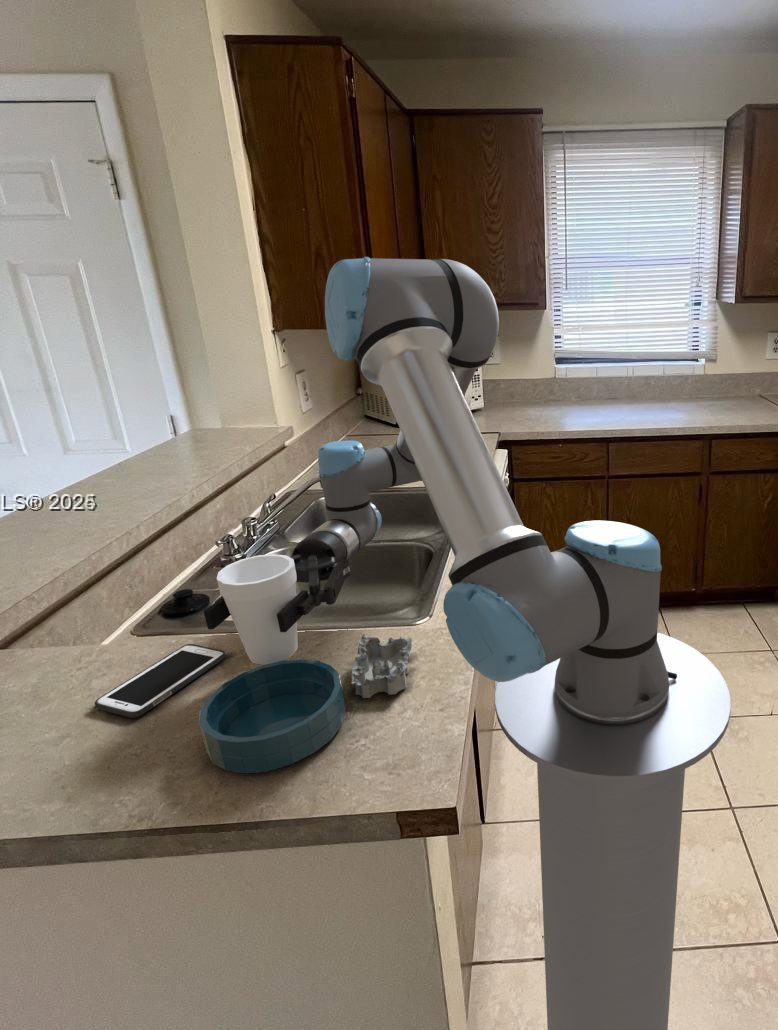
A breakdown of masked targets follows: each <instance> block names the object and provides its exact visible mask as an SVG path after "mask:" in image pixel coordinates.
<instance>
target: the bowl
mask: <svg viewBox="0 0 778 1030" xmlns="http://www.w3.org/2000/svg"><path fill="white" fill-rule="evenodd" d="M340 675H341V674H340V673H339V672H338V671H337V670H336V669H335V668H334V667H333V665H330V664H328V663H325V662H323V661H320V660H317V659H316V660H315V659H308V658H307V659H306V658H295V659H285V660H282V661H278V662H274V663H270V664H264V665H262V664H260V665H259V666H256V667H254V668H252V669H249V670H246V671H244V672H242V673H240V674H237V675H236V676H234V677H232V678H231V679H229V680H228V681H226V682H224V683H223V684H222V685H220V686H219V687H218V688H217V689H216V690H215V691H214V692H212V693H211V694H210V695H209V696H208V698H207V699H206V700H205V702H204V704H203V705H202V707H201V708H200V710H199V716H198V717H199V719H198V726H199V728H200V731H201V736H202V740H203V743H204V747H205V751H206V753H207V755H208V757H209V759H210V761H211V762H212V764H214V765H215V766H217V767H219V768H220V769H223V770H224V771H227V772H233V773H240V774H253V773H254V774H255V773H263V772H270V771H273V770H277V769H280V768H281V769H282V768H284V767H287V766H290V765H292V764H294V763H297V762H299V761H301V760H304V759H305V758H307V757H308V756H310V755H313V754H315V753H316V752H317V751H319V750H320V749H321V748H323V747H324V746H325V745H327V743H328V742H330V741H331V740H332V739H333V738H334V737H335V735H336V734H337V733H338V732H339V730H340V729H341V727H342V726H343V724H344V721H345V718H346V714H347V710H346V709H347V708H346V703H345V698H344V693H343V685H342V680H341V676H340Z"/></svg>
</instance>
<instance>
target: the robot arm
mask: <svg viewBox="0 0 778 1030" xmlns="http://www.w3.org/2000/svg"><path fill="white" fill-rule="evenodd" d="M326 279H327V280H326V284H325V291H324V292H325V293H324V317H325V325H326V332H327V337H328V341H329V345H330V348H331V350H332V352H333V353H334V355H335V356H336V357H337V358H338V359H340V360H345V361H347V362H350V361H353V360H356V361H357V363H358V366H359V369H360V371H361V373H362V375H363V377H364V378H365V379H366V380H367V381H368V382H370V383H372V384H374V385H378V386H381V387H382V390H383V392H384V394H385V397H386V400H387V401H388V404H389V406H390V408H391V410H392V414H393V416H394V418H395V420H396V423H397V426H398V427H399V433H398V437H397V439H396V441H395V443H394V444H391V445H387V446H386V445H385V446H380V447H375V448H369V449H368V448H367V449H364V446H363V444H362V443H361V442H359V441H357V440H350V439H349V440H337V441H331V442H327V443H325V444H323V445H321V446H320V447H319V449H318V451H317V460H318V474H319V476H320V477H319V478H320V483H321V488H322V493H323V498H324V499H323V500H324V505H325V513H326V518H327V519H326V521H325V522H324V523H322V524H321V525H319V526H318V527H316V529H314V530H313V531H311V532H310V533H309V534H308V535H307V536H306V537H304V538H303V539H301V540H300V541H299V542H298V543H297V544H296V545H295V547H294V549H293V551H292V554H291V555H290V556H289V557H290V558H292V559H294V564H295V570H296V576H297V581H296V582H295V583H308V586H307V587H308V590H304V589H302V590H301V591H300V592H298V594H296V597H294V598H293V599H292V600H291V601H290V602H289V603H288V604H287V605H286V606H285V607H284V608H283V609H282V610H280V611H279V612H278V613H277V618H278V623H279V628H280V632H287V631H288V630H289V629H290V628H291V627H292V626H293V625H294V624H295V623H296V622H297V623H298V621H299V620H301V618H302V617H303V616H306V615H308V614H309V613H310V612H312V610H313V609H314V608H315V607H319V606H321V605H322V603H325V604H326V605H328V606H331V605H334V604H335V603H336V601H337V599H338V597H339V595H340V592H341V590H342V588H343V586H344V583H345V581H346V580H347V579H349V578H350V577H351V575H352V573H351V566H350V560H351V559H353V558H354V556H355V555H356V554H357V553H359V551H361V550H362V549H363V548H364V547H365V546H366V545H367V544H369V543H370V542H371V541H372V540H373V539H374V538H375V536H376V534H377V533H378V532H379V530H380V529H381V526H382V522H383V521H382V515H381V513H380V511H379V509H378V507H376V505H375V504H373V503H372V502H371V498H370V493H373V492H376V491H377V492H378V491H380V490H381V491H382V490H385V489H390V488H393V487H398V486H404V485H408V484H413V483H417V482H422V483H423V486H424V488H425V491H426V492H427V495H428V497H429V499H430V502H431V504H432V507H433V508H434V509H433V510H434V511H435V514H436V516H437V518H438V520H439V523H440V525H441V527H442V530H443V533H444V535H445V537H446V539H447V541H448V544H449V546H450V549H451V552H452V553H453V555H454V560H453V562H452V564H451V567H450V570H449V571H448V575H447V576H448V579H449V581H450V584H451V587H450V588H449V589H448V590H447V591H446V592H445V595H444V598H443V605H442V607H443V614H444V615H445V616H446V619H445V623H446V626H447V629H448V632H449V634H450V637H451V638H452V640H453V642H454V644H455V646H456V648H457V649H458V651H459V652H460V654H461V655H462V657H463V658H464V659H465V661H466V662H467V663H468V664H469V665H470V666H471V667H472V669H473V670H475V671H476V672H477V673H479V674H480V675H482V676H483V677H485V678H486V679H489V680H491V681H494V682H507V681H511V680H514V679H516V678H518V677H521V676H523V675H525V674H529V673H534V672H536V671H539V670H540V669H541V668H543V667H544V666H546V665H548V664H550V663H552V662H554V661H556V660H558V659H560V661H559V664H558V666H557V670H556V675H555V693H556V697H557V699H558V701H559V703H560V704H561V705H562V707H563V708H564V709H565V710H567V711H568V712H569V713H570V714H572V715H574V716H575V717H577V718H579V719H581V720H584V721H586V722H590V723H593V724H598V725H605V726H623V725H630V724H635V723H638V722H641V721H644V720H646V719H649V718H650V717H652V716H654V715H655V714H657V713H658V712H659V711H660V710H661V709H662V708H663V707H664V705H665V704H666V702H667V699H668V695H669V678H672V679H677V674H675V673H672V672H669V671H667V669H666V666H665V663H664V660H663V657H662V653H661V650H660V647H659V644H658V641H657V633H658V629H659V628H658V627H659V613H660V611H659V609H660V593H661V592H660V590H661V575H662V574H661V573H662V572H661V571H663V570H662V568H663V566H662V564H661V547H660V542H659V540H658V539H657V538H656V537H655V535H654V534H652V533H651V532H649V531H648V530H646V529H644V528H641V527H639V526H637V525H633V524H630V523H625V522H619V521H614V520H613V521H612V520H586V521H581V522H577V523H574V524H572V525H570V526H569V527H568V529H567V531H566V534H565V537H564V542H565V546H564V547H562V548H560V549H556V550H554V551H551V550H550V549H549V546H548V544H547V542H546V540H545V538H544V536H543V534H542V533H541V532H539V531H535V530H532V529H530V528H527V527H526V526H524V523H523V521H522V519H521V518H520V515H519V512H518V510H517V508H516V506H515V504H514V502H513V500H512V498H511V495H510V493H509V491H508V488H507V487H506V484H505V482H504V479H503V478H502V475H501V473H500V471H499V469H498V467H497V465H496V463H495V460H494V459H493V456H492V454H491V452H490V450H489V447H488V445H487V443H486V441H485V439H484V437H483V435H482V432H481V430H480V428H479V426H478V424H477V421H476V419H475V417H474V415H473V413H472V410H471V409H470V406H469V404H468V402H467V399H466V398H465V395H466V392H467V390H468V388H469V387H470V384H471V382H472V380H473V379H474V375H475V373H476V371H477V369H480V368H482V367H483V366H485V365H486V364H487V363H488V361H489V360H490V357H491V356H492V353H493V351H494V350H495V347H496V344H497V341H498V336H499V330H500V316H499V310H498V309H499V308H498V306H497V301H496V299H495V296H494V295H493V292H492V290H491V288H490V286H489V285H488V284H487V282H486V281H485V280H484V279H483V278H482V276H481V275H479V273H477V272H476V271H475V270H474V269H473V268H471V267H469V266H468V265H466V264H464V263H462V262H459V261H455V260H452V259H448V258H447V259H445V258H435V259H424V258H423V259H422V258H421V259H420V258H419V259H417V258H375V257H374V258H373V257H372V258H371V257H369V256H363V257H362V258H345V259H341V260H339V261H337V262H336V263H334V264H333V266H332V267H331V268H330V270H329V273H328V276H327V278H326ZM322 581H326V583H325V584H324V587H323V589H321V582H322ZM203 615H204V619H205V622H206V626H207V630H214V629H216V628H218V626H219V625H221V624H222V623H223V622H224V621H226V619H228V618H229V617H231V614H230V612H229V610H228V607H227V605H226V603H225V600H224V598H223V596H221V595H220V597H218V598H217V599H215V600H214V603H212V604H210V606H208V607H207V608H206V609H205V610H203ZM668 677H669V678H668Z"/></svg>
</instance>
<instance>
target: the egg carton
mask: <svg viewBox="0 0 778 1030" xmlns="http://www.w3.org/2000/svg"><path fill="white" fill-rule="evenodd" d="M412 643H413V639H412V637H403V636H400V637H399V638H393V637H389V638H388V641H385V642H381V640H380V638H379V637H377V636H366V634H362V635H361V637H360V640H359V642H358V645H357V646H358V647H357V652H356V655H355V657H354V662H353V666H352V668H351V685H354V687H355V695H358V696H360V697H362V698H363V699H371V698H372V696H374V695H375V694H377V693H382V692H384V693H386V694H387V695H396V694H397V693H398V692H400V691H402V690H406V689H407V686H408V683H407V676H406V675H408V674H409V671H410V670H409V661H410V660H411V650H412Z"/></svg>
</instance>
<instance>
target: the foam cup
mask: <svg viewBox="0 0 778 1030" xmlns="http://www.w3.org/2000/svg"><path fill="white" fill-rule="evenodd" d="M296 581H297V576H296V570H295V564H294V559H292V558H290V556H289V555H285V554H276V553H270V554H260V555H258V554H257V555H253V556H250V557H246V558H242V559H238V560H235V561H234V562H232V563H230V564H227V565H225V566H224V567H223V568H222V569H221V570H219V571H217V576H216V582H217V586H218V591H219V594H220V597H221V596H223V598H224V600H225V603H226V605H227V607H228V610H229V612H230V614H231V615H230V617H231V619H232V622H233V624H234V626H235V630H236V631H237V633H238V636H239V638H240V641H241V643H242V645H243V648H244V650H245V653H246V655H247V657H248V659H249V661H251V662H252V663H253V664H256V665H266V664H270V663H274V662H278V661H283V660H287V659H288V658H290V657H291V656H293V655H294V654H295V653H296V652H297V650H298V646H299V645H298V643H299V642H298V641H299V640H298V639H299V638H298V621H297V622H296V623H295V624H294V625H293V626H292V627H291V628H290V629H289V630H288V631H287V632H280V628H279V623H278V618H277V613H278V612H279V611H280V610H282V609H283V608H284V607H285V606H286V605H287V604H288V603H289V602H290V601H291V600H292V599H293V598H294V597H296V596H297V591H296V589H297V588H296V586H297V585H296V583H297V582H296Z"/></svg>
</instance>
